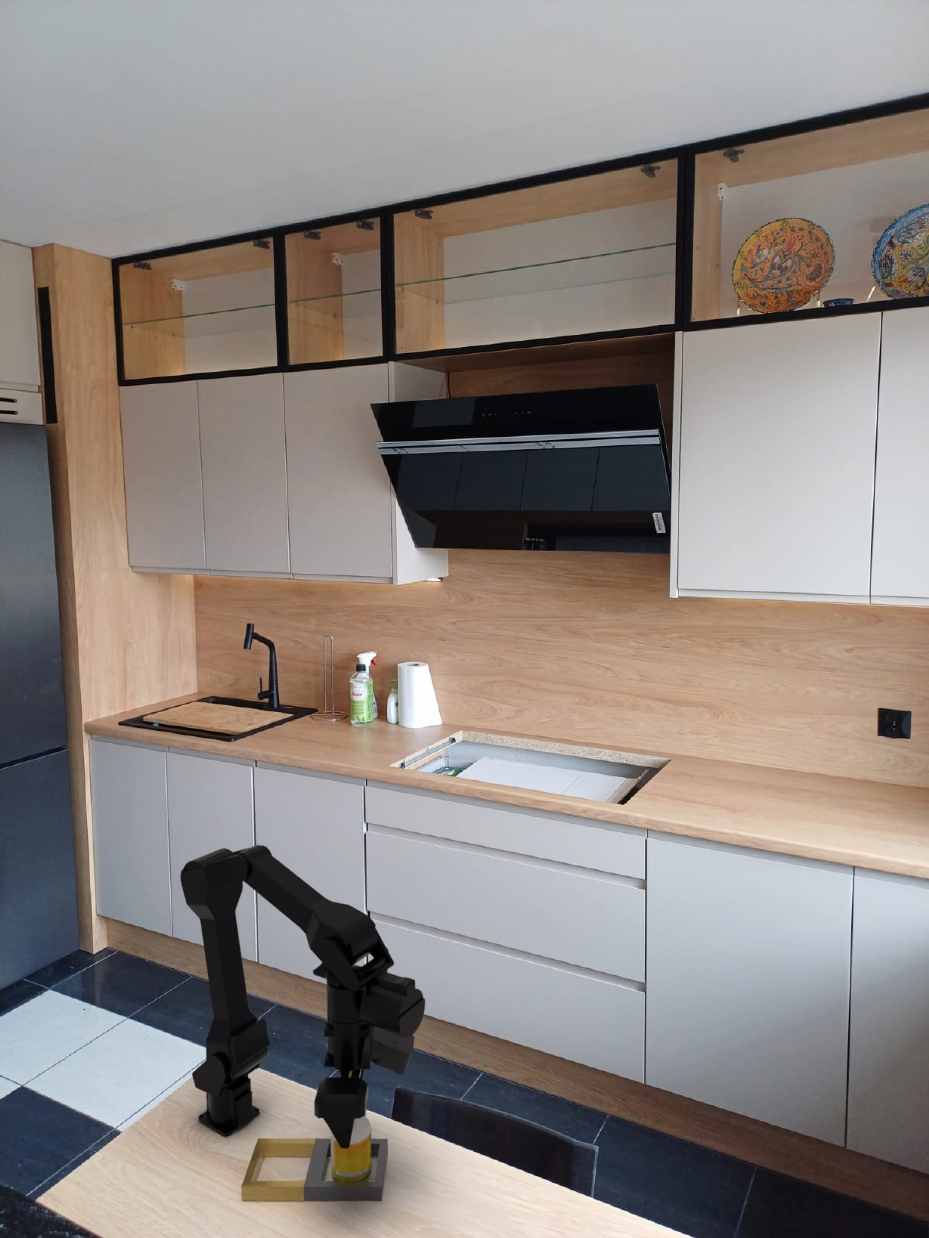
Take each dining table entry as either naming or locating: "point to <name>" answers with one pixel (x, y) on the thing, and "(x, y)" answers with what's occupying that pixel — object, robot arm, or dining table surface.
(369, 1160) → the supplement bottle
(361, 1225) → the dining table surface
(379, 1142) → the rectangular frame
